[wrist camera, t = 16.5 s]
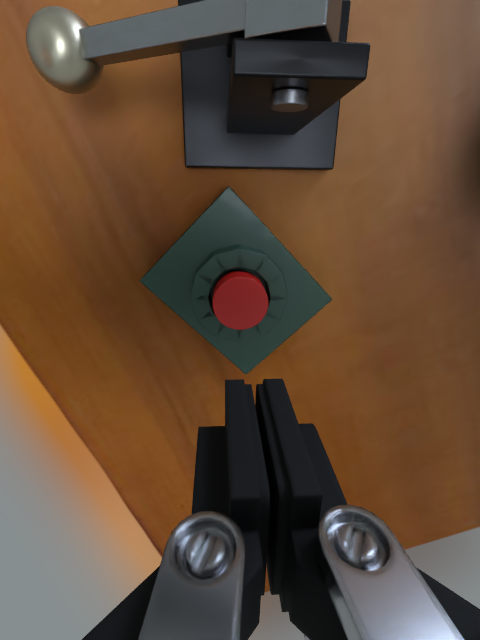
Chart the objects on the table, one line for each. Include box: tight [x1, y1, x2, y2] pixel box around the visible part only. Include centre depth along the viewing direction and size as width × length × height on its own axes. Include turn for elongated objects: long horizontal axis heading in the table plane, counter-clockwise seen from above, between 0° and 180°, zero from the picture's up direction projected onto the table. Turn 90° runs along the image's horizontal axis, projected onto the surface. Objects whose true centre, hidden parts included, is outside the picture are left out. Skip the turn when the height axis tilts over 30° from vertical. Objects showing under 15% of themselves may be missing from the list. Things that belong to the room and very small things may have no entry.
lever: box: [26, 0, 342, 94], centre depth 14 cm, size 14×3×3 cm, turn 89°
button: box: [213, 271, 268, 330], centre depth 22 cm, size 4×4×2 cm
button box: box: [140, 186, 332, 374], centre depth 24 cm, size 11×9×4 cm
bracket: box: [178, 0, 370, 170], centre depth 16 cm, size 10×9×13 cm
